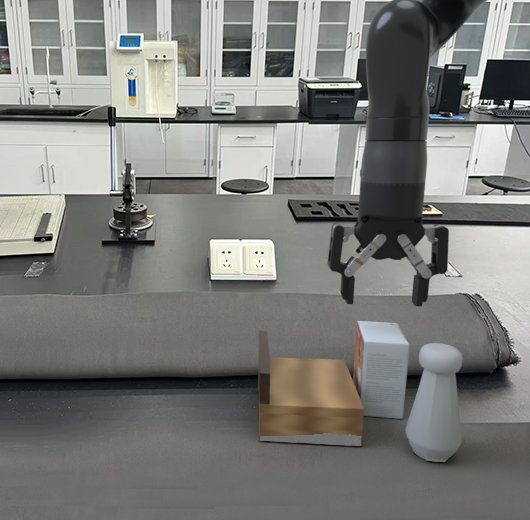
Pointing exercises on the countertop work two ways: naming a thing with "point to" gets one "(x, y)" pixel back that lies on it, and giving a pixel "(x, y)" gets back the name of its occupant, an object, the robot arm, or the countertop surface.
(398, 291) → the countertop surface
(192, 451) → the countertop surface
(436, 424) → the salt shaker
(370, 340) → the small box
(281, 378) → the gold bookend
